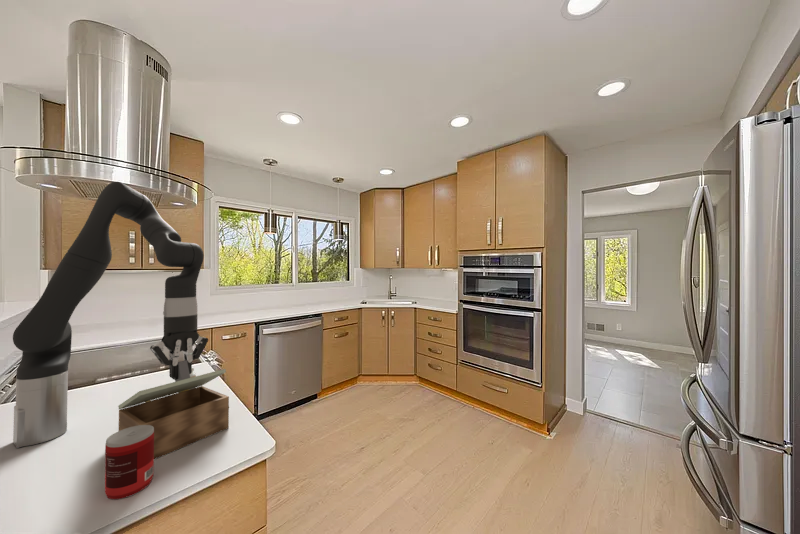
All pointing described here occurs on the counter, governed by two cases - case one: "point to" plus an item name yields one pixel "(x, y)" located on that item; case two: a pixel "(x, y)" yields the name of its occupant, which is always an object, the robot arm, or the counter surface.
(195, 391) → the storage box
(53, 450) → the counter surface
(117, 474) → the canned food
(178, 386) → the lid
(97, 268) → the robot arm
